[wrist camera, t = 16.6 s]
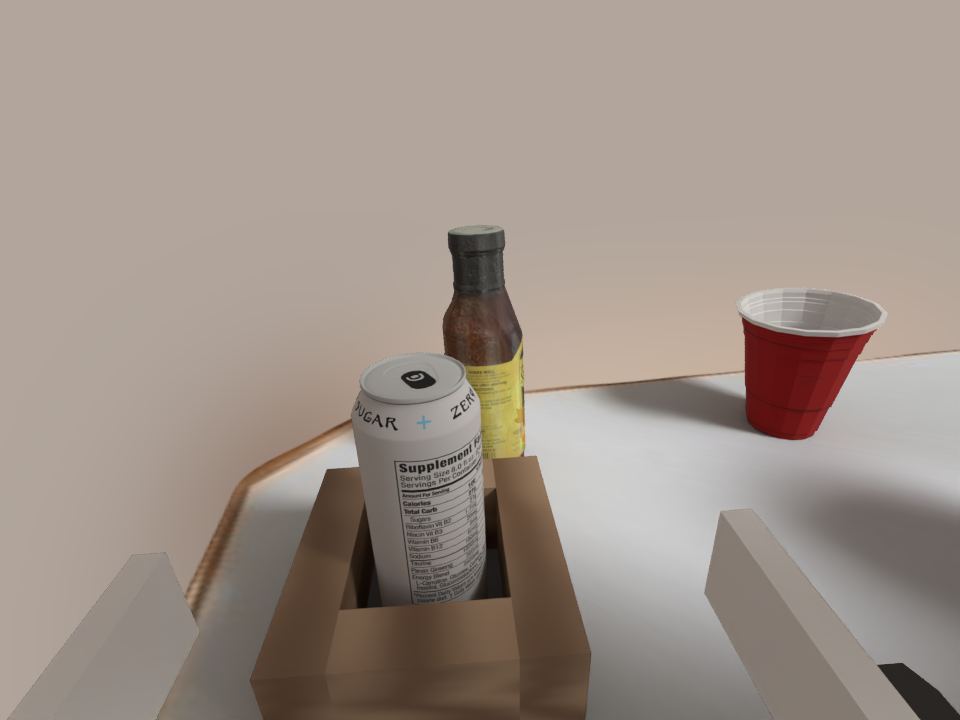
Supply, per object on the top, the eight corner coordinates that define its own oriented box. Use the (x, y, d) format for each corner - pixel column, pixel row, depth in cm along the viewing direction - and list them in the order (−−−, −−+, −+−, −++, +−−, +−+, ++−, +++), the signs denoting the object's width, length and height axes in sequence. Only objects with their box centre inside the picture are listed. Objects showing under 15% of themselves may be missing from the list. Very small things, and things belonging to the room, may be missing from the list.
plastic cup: (691, 405, 50) (710, 292, 45) (780, 390, 53) (807, 280, 48) (774, 467, 41) (809, 332, 36) (878, 445, 43) (924, 315, 38)
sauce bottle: (539, 468, 42) (544, 229, 34) (476, 496, 39) (465, 241, 31) (497, 433, 47) (492, 218, 39) (438, 455, 44) (420, 228, 36)
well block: (535, 524, 36) (536, 455, 33) (583, 738, 23) (591, 653, 21) (340, 538, 35) (327, 469, 33) (279, 765, 22) (249, 680, 20)
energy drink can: (454, 550, 32) (439, 339, 26) (508, 617, 28) (505, 379, 22) (368, 594, 30) (327, 368, 23) (412, 677, 25) (376, 422, 19)
